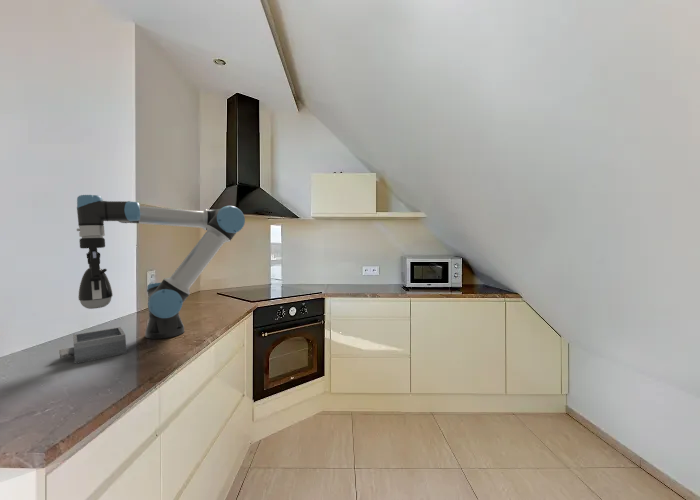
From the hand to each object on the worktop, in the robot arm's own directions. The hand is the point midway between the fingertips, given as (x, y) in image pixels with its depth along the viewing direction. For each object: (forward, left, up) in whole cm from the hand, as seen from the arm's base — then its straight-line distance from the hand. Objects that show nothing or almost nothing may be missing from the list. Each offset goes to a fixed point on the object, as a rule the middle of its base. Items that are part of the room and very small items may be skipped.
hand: (96, 297), depth 128 cm
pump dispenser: (0, 0, -4) cm, 4 cm away
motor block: (+2, 0, -21) cm, 21 cm away
